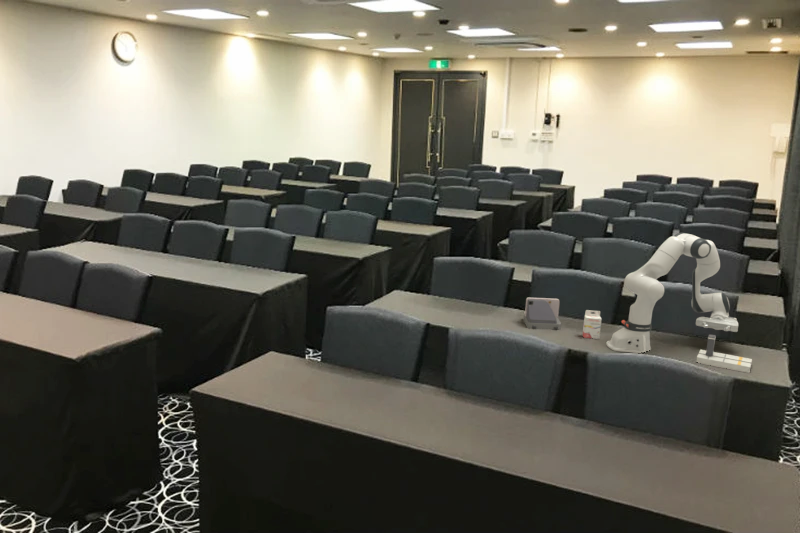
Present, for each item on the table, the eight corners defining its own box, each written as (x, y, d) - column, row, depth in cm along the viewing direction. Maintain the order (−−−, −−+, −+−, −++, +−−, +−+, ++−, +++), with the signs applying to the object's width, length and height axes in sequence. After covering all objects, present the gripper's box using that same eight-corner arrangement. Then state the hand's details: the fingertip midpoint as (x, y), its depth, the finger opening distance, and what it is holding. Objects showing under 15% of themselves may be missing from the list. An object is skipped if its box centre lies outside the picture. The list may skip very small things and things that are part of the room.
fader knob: (704, 358, 346) (708, 336, 343) (705, 356, 350) (709, 334, 347) (711, 360, 344) (715, 337, 342) (712, 357, 348) (716, 335, 346)
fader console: (696, 362, 344) (697, 356, 343) (699, 354, 356) (700, 349, 355) (749, 373, 333) (750, 367, 332) (751, 364, 344) (752, 358, 343)
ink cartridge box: (583, 338, 376) (586, 312, 372) (582, 335, 380) (584, 309, 377) (599, 339, 375) (602, 313, 371) (598, 336, 380) (600, 310, 376)
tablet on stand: (559, 321, 405) (562, 296, 402) (561, 332, 385) (563, 306, 382) (523, 318, 409) (525, 293, 406) (522, 328, 389) (524, 302, 386)
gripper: (697, 312, 371) (694, 318, 359) (739, 318, 361) (737, 325, 349) (696, 323, 372) (693, 330, 360) (738, 330, 362) (736, 337, 351)
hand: (715, 328), depth 355 cm, fingers open, 8 cm apart
